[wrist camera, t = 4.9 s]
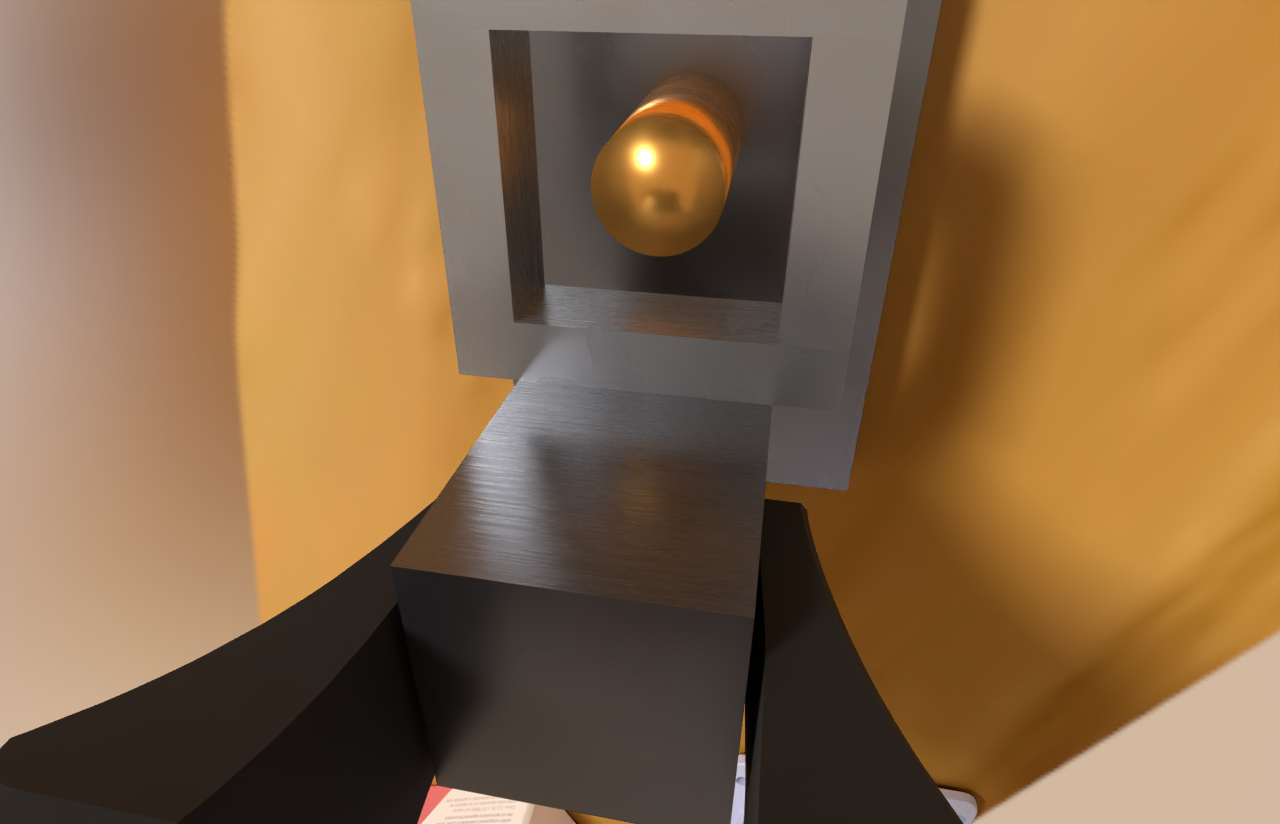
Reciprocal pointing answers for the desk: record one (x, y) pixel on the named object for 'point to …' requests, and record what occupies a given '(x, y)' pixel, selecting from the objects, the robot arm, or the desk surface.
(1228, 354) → the desk surface
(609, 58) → the frame
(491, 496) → the link
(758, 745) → the robot arm
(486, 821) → the ink cartridge box
